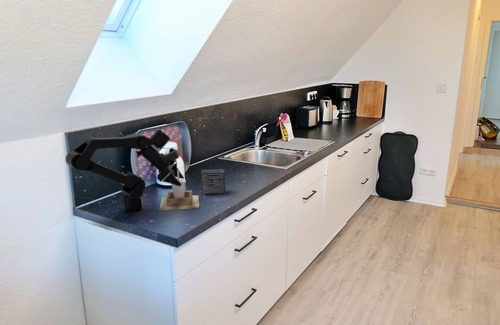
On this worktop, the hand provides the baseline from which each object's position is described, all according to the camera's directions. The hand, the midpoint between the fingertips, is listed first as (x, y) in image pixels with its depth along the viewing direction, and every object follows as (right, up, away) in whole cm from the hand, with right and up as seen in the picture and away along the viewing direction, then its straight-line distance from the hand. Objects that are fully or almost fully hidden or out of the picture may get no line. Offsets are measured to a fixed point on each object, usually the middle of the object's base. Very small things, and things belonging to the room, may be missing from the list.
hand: (182, 182), depth 173 cm
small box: (+12, -6, +16) cm, 21 cm away
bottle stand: (-1, -9, +2) cm, 10 cm away
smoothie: (-1, -9, +2) cm, 9 cm away
